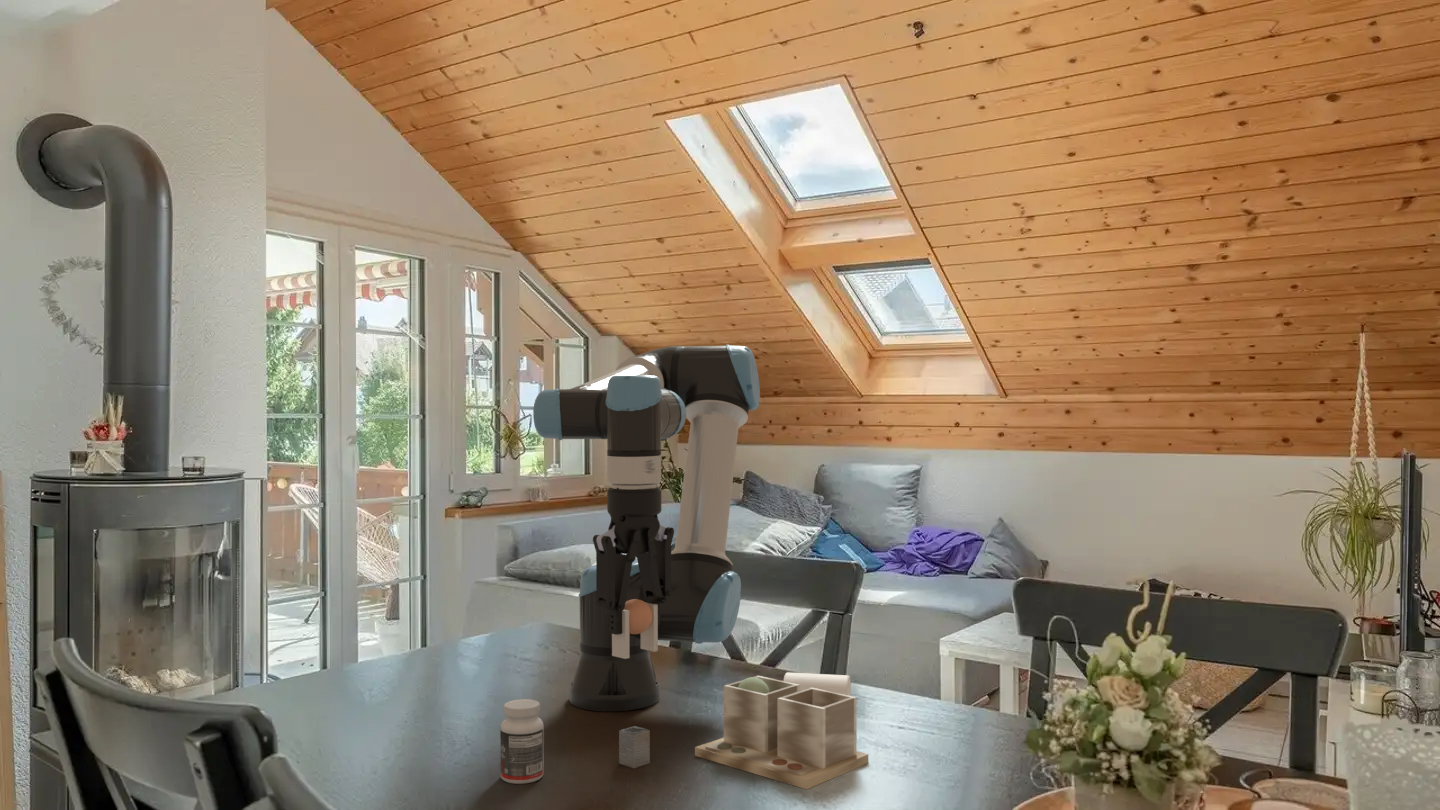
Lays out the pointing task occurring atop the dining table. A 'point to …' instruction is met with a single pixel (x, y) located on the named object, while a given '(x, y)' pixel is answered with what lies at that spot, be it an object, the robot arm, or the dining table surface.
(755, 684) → the ball sage upper
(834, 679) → the mug
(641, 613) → the ball terracotta
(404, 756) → the dining table surface
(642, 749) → the post
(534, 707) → the pill bottle
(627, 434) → the robot arm
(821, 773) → the rack
